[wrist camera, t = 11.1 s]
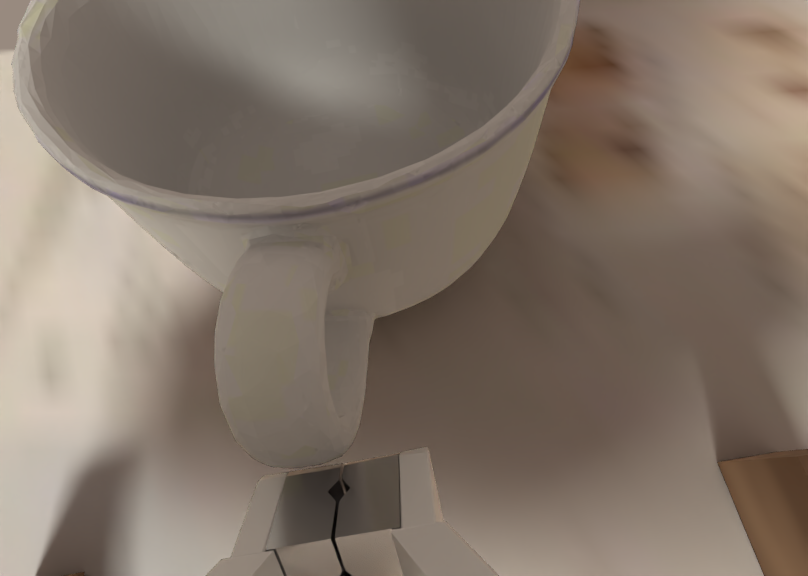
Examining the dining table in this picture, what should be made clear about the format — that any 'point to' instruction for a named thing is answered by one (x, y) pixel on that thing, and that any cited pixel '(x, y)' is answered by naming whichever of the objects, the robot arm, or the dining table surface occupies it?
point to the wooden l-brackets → (769, 508)
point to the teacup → (298, 166)
